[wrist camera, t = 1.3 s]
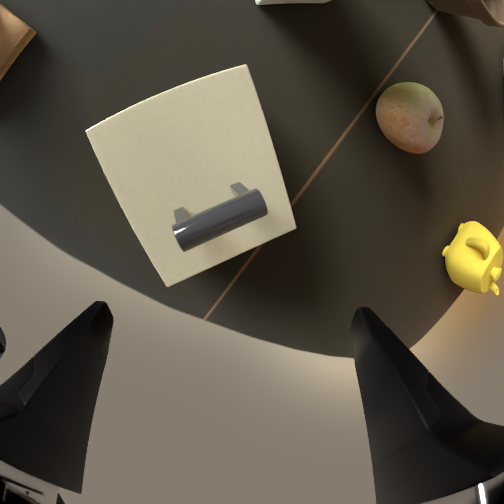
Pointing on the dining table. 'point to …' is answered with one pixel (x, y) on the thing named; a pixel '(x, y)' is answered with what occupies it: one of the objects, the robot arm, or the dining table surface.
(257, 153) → the lid
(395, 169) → the dining table surface
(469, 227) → the teapot
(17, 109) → the dining table surface
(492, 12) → the flower pot
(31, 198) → the dining table surface
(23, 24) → the switch base
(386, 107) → the fruit
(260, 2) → the milk carton
